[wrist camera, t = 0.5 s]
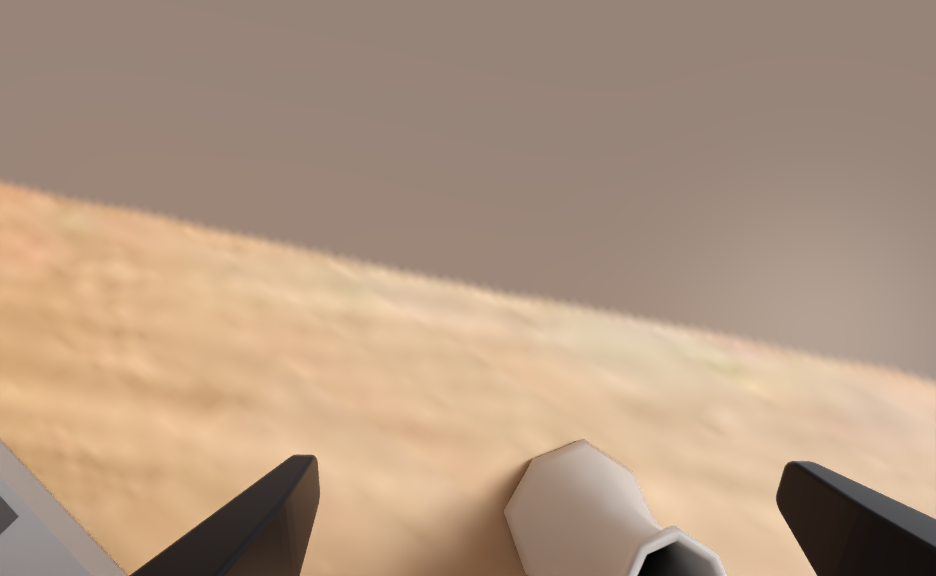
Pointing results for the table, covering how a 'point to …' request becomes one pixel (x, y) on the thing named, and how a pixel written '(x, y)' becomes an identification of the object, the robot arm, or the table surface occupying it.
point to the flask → (595, 522)
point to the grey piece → (42, 530)
